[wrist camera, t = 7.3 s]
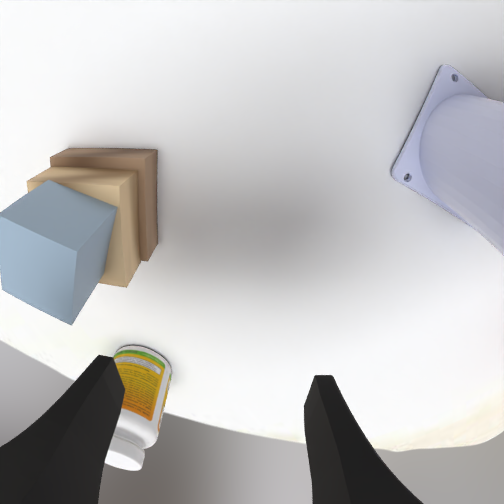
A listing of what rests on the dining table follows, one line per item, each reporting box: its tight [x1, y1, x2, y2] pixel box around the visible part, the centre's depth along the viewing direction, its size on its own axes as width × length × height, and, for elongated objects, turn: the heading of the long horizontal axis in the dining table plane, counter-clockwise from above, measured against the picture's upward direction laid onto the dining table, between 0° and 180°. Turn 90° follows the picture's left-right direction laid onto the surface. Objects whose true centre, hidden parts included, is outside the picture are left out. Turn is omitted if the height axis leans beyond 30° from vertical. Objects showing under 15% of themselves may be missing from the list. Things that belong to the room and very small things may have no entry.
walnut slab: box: [50, 148, 158, 261], centre depth 17 cm, size 6×6×2 cm
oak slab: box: [27, 167, 141, 288], centre depth 15 cm, size 6×6×2 cm
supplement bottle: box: [105, 346, 172, 470], centre depth 21 cm, size 5×5×10 cm
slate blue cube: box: [0, 180, 118, 325], centre depth 12 cm, size 4×4×4 cm
